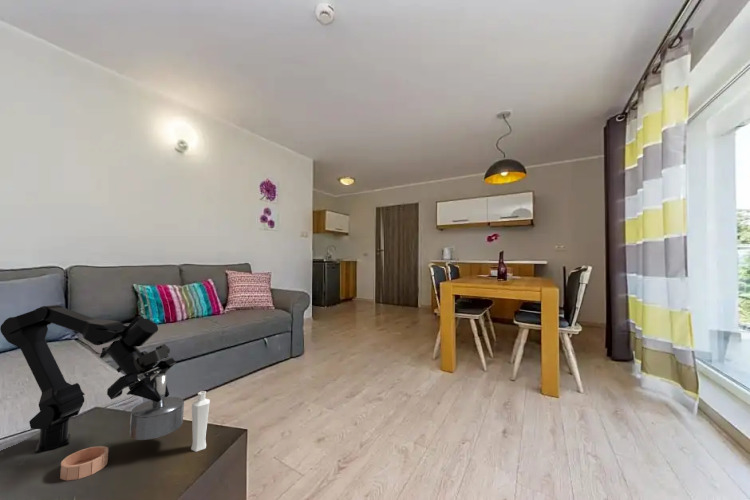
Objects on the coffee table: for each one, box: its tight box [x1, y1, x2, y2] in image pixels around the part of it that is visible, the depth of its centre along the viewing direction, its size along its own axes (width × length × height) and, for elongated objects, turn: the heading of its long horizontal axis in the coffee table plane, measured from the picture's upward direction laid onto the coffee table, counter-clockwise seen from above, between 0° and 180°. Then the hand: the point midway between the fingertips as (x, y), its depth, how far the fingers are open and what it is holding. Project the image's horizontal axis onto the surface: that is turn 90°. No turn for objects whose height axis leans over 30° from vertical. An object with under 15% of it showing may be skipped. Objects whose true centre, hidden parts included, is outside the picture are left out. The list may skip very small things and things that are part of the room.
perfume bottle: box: [190, 390, 211, 452], centre depth 86 cm, size 5×4×15 cm
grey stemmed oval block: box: [128, 373, 185, 441], centre depth 86 cm, size 12×12×14 cm
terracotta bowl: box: [59, 445, 109, 481], centre depth 76 cm, size 8×8×3 cm
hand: (163, 398), depth 86 cm, fingers closed on grey stemmed oval block, 3 cm apart
